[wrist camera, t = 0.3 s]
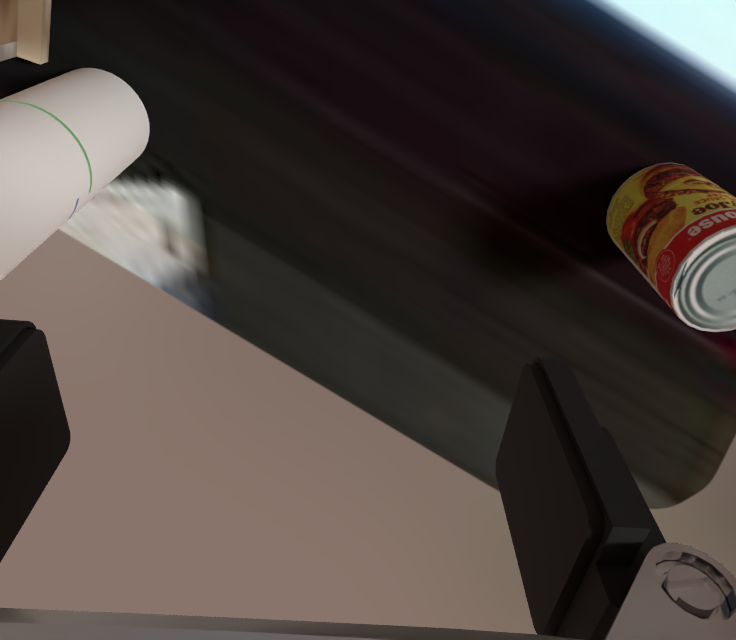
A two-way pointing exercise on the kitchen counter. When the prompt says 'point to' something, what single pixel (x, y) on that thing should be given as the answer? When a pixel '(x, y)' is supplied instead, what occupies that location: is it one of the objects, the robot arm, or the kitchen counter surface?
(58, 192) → the cylindrical container
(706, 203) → the canned food
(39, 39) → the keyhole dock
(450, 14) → the kitchen counter surface
